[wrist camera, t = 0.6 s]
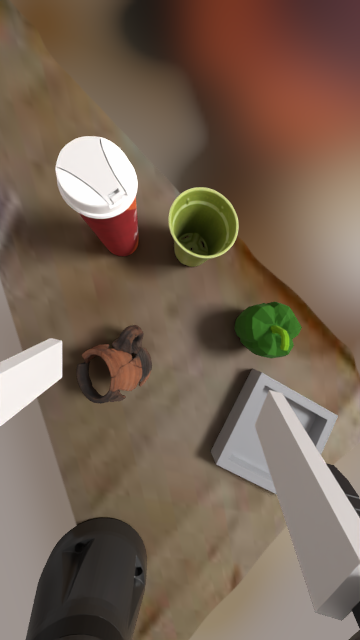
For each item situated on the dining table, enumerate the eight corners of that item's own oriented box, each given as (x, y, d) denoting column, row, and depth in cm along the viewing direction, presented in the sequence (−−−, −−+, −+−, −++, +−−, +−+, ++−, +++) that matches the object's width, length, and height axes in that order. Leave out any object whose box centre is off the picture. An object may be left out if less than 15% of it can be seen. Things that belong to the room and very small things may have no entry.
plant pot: (201, 215, 33) (218, 176, 24) (226, 262, 33) (250, 239, 25) (155, 237, 32) (155, 203, 23) (181, 285, 32) (190, 270, 23)
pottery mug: (145, 398, 31) (109, 424, 23) (106, 370, 34) (63, 385, 27) (170, 334, 29) (139, 340, 21) (126, 311, 32) (85, 309, 25)
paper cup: (154, 244, 32) (152, 179, 18) (119, 271, 31) (89, 226, 17) (123, 208, 31) (97, 113, 17) (87, 235, 30) (29, 158, 16)
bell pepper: (239, 297, 33) (274, 285, 23) (276, 318, 34) (326, 315, 24) (219, 338, 33) (246, 344, 23) (258, 359, 33) (301, 373, 23)
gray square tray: (285, 489, 33) (298, 505, 30) (210, 451, 32) (216, 464, 29) (322, 408, 35) (338, 415, 32) (252, 368, 33) (261, 372, 30)
